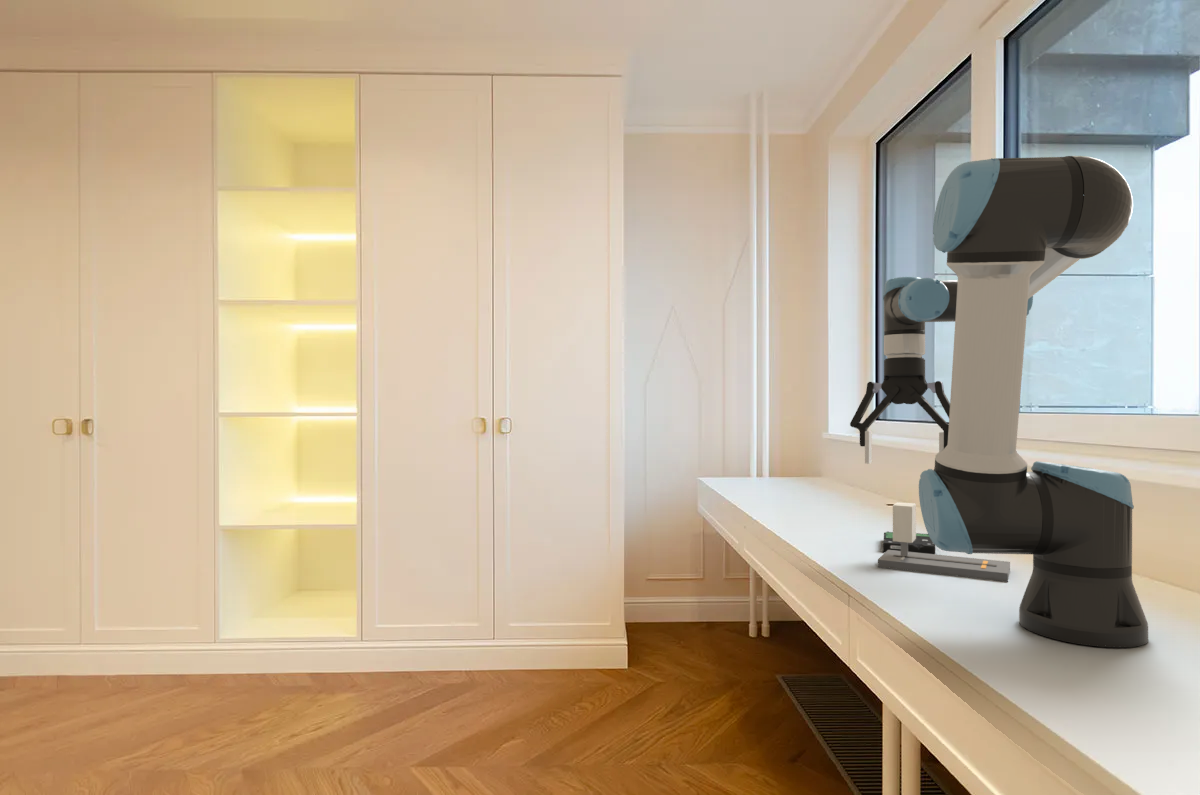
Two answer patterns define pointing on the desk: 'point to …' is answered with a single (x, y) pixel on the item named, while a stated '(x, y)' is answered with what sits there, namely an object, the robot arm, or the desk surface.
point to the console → (946, 565)
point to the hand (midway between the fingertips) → (904, 464)
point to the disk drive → (910, 544)
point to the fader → (904, 524)
